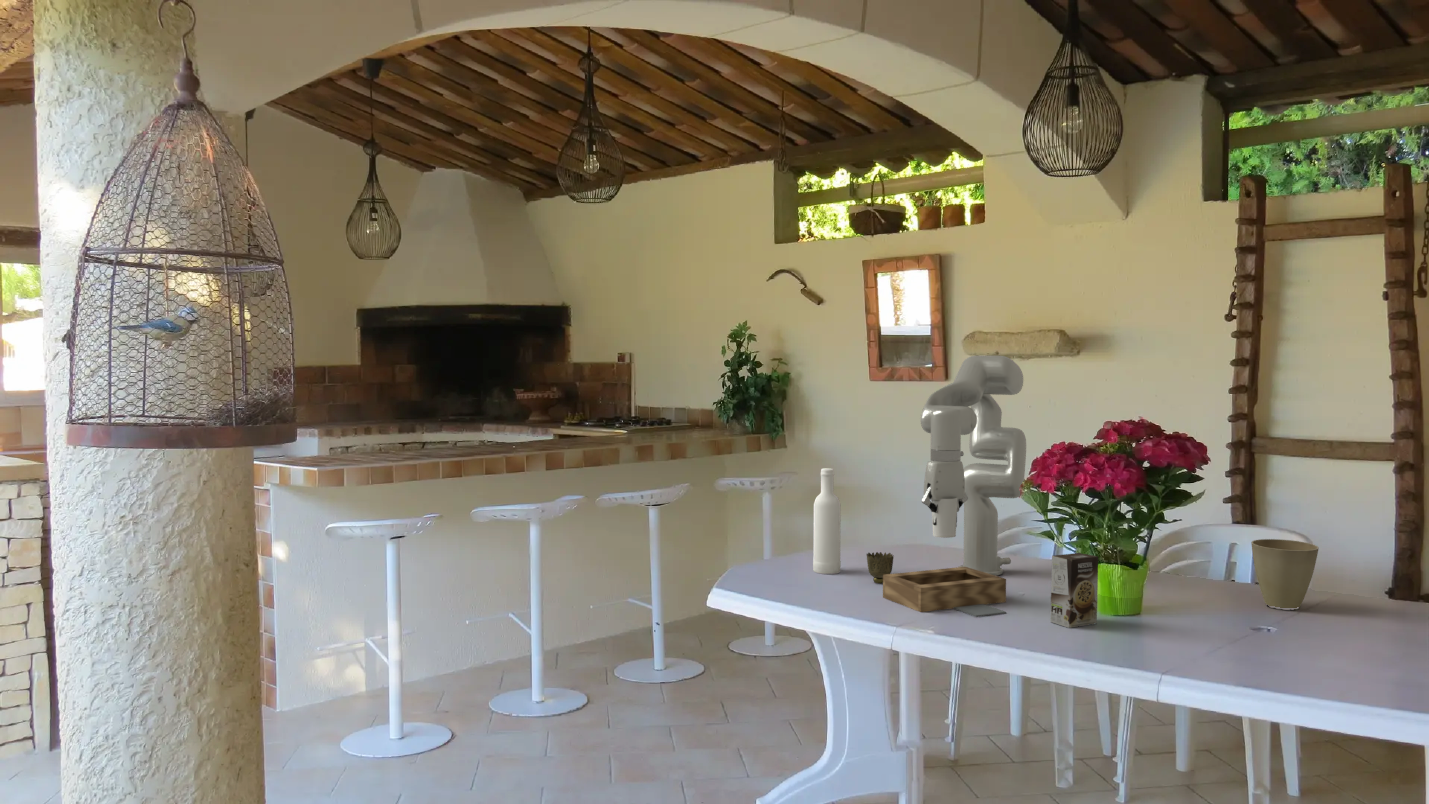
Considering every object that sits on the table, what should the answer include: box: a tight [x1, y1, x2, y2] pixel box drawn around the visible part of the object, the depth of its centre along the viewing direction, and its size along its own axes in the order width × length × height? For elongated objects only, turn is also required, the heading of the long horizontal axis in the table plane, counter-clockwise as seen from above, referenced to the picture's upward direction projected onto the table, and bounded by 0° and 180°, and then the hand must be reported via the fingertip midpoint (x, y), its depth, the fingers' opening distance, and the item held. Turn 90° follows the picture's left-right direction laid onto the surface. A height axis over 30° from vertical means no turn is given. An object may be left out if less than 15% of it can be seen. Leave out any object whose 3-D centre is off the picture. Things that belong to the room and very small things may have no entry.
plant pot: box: [1251, 538, 1320, 608], centre depth 271 cm, size 15×15×16 cm
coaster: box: [953, 604, 1007, 618], centre depth 268 cm, size 9×9×1 cm
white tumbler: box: [930, 497, 958, 539], centre depth 279 cm, size 7×7×10 cm
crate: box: [882, 566, 1007, 613], centre depth 280 cm, size 26×17×6 cm, turn 114°
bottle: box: [812, 467, 842, 575], centre depth 314 cm, size 8×8×30 cm
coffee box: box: [1049, 552, 1099, 629], centre depth 256 cm, size 9×6×16 cm
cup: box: [866, 551, 895, 585], centre depth 300 cm, size 8×7×8 cm
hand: (944, 526), depth 279 cm, fingers closed on white tumbler, 3 cm apart
